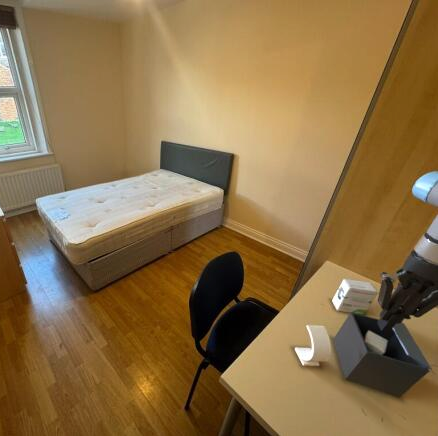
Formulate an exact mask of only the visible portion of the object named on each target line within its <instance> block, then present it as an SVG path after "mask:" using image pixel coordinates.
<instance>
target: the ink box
mask: <svg viewBox="0 0 438 436" xmlns="http://www.w3.org/2000/svg"><path fill="white" fill-rule="evenodd" d="M378 295H379V291H378V290H377V289H376V287H375V285H373V283H371V282H369V281H367V282H366V281H361V280H354V279H349V278H343V280H342V281H341V283H340V285H339V287H338V288H337V291H336V293H335V295H333V298H332V300H331V301H332V303H333V306H334V307H335V310H336V311H338V312H339V311H340V312H344V313H349V314H350V313H351V312H352V313H356V314H360V315H364V316H365V314H366V312H367V311H368V309H369V308H370V306H371V304H373V301H374V300H375V299H376V297H378Z"/></svg>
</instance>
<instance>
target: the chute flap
mask: <svg viewBox="0 0 438 436" xmlns="http://www.w3.org/2000/svg"><path fill="white" fill-rule="evenodd" d="M392 329H393V330H394V332H395V334H396V336H397V338H398V339H399V341H400V343H401V345H402V347H403V349H404V350H405V352H406V354H407V355H408V356H409V357H411V358H413V359H414V360H416V361H417V362H419V363H421V364H422V365H424V366H425V367H427V368H428V369H429V370H432V369H433V368H432V367H431V365H430V363H429V362H428V360H427V358H426V357H425V355H424V354H423V352H422V350H421V348H420V347H419V345H418V344H417V342H416V341H415V339H414V337H413V336H412V334H411V331H410V330H409V329H408V328H407V326H406V324H405V323H404V322H403V321H402V322H401V323H400V324H398V323H396V325H395V326H394V327H393V328H392Z"/></svg>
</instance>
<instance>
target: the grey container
mask: <svg viewBox="0 0 438 436" xmlns="http://www.w3.org/2000/svg"><path fill="white" fill-rule="evenodd" d="M379 319H380V318H376V317H371V316H367V315H365V314H364V315H362V314H356V313H352V312H351V313H350V312H349V314H348V316H347V317H346V319H345V320H344V322H343V323H342V325H341V326H340V328H339V330H338V331H337V332H336V334H335V336H334V337H333V342H334V346H335V349H336V353H337V356H338V360H339V362H340V366H341V369H342V373H343V376H344V380H346V381H349V382H352V383H354V384H358V385H360V386H364V387H367V388H369V389H373V390H375V391H378V392H381V393H385V394H387V395H390V396H393V397H395V398H399V399H400V398H401V397H403V396H404V395H405V394H406V393H407V392H408V391H409V390H410V389H412V388H413V387H414V386H415V385H416V384H417V383H418V382H420V380H421V379H423V378H424V377H425V376H426V375H428V373H430V372H431V371H430V370H431V369H429V368H427V367H425V366H424V365H422V364H421V363H419V362H417V361H416V360H414V359H413V358H411V357H409V356H408V355H407V354H406V352H405V350H404V349H403V347H402V345H401V343H400V341H399V339H398V338H397V336H396V334H395V332H394V330H393V329H392V330H391V331H390V332H389V333H387V332H383V331H381V329H380V327H379V325H378V323H377V322H378V321H379ZM368 331H371V332H373V333H375V334H377V335H378V336H380V337H382V338H384V339H386V340H388V343H387V347H386V351H385V353H384V354H383V355H380V354H376V353H373V352H370V351H369V350H368V348H367V346H366V343H365V341H364V338H363V337H364V336H365V335H366V333H367V332H368Z"/></svg>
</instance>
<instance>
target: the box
mask: <svg viewBox="0 0 438 436" xmlns="http://www.w3.org/2000/svg"><path fill="white" fill-rule="evenodd" d="M363 338H364V341H365V343H366V346H367V348H368V350H369V351H370V352H373V353H376V354H380V355H383V354H384V353H385V351H386V347H387V343H388V340H386V339H384V338H382V337H380V336H378V335H377V334H375V333H373V332H371V331H368V332H367V333H366V335H365V336H364V337H363Z"/></svg>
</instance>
